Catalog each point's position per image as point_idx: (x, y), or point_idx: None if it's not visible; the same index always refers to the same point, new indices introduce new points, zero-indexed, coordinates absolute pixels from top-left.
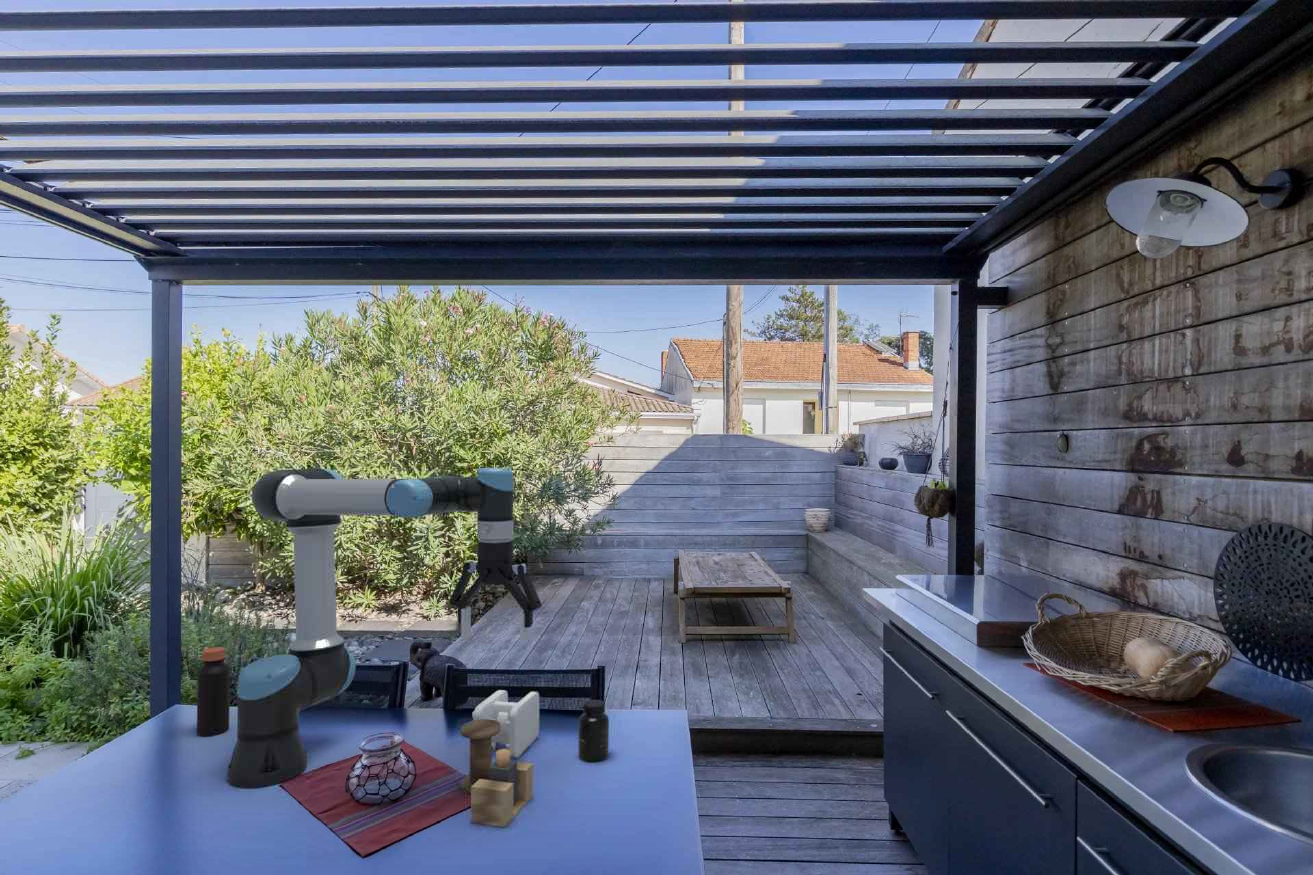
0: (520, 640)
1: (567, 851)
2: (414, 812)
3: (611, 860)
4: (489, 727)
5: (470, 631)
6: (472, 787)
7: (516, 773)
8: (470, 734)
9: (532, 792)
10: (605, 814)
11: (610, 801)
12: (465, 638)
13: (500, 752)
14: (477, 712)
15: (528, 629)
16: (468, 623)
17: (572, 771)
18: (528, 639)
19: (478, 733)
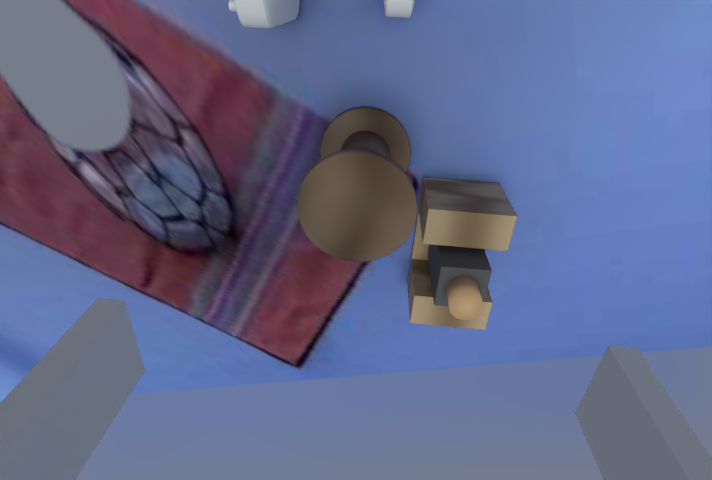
0: (589, 437)
1: (590, 330)
2: (294, 265)
3: (662, 341)
4: (385, 214)
5: (100, 332)
6: (412, 321)
7: (485, 255)
8: (350, 259)
9: (500, 187)
10: (664, 225)
11: (681, 175)
12: (138, 364)
13: (461, 310)
14: (254, 21)
15: (692, 437)
16: (59, 423)
17: (584, 34)
18: (642, 361)
19: (371, 255)
